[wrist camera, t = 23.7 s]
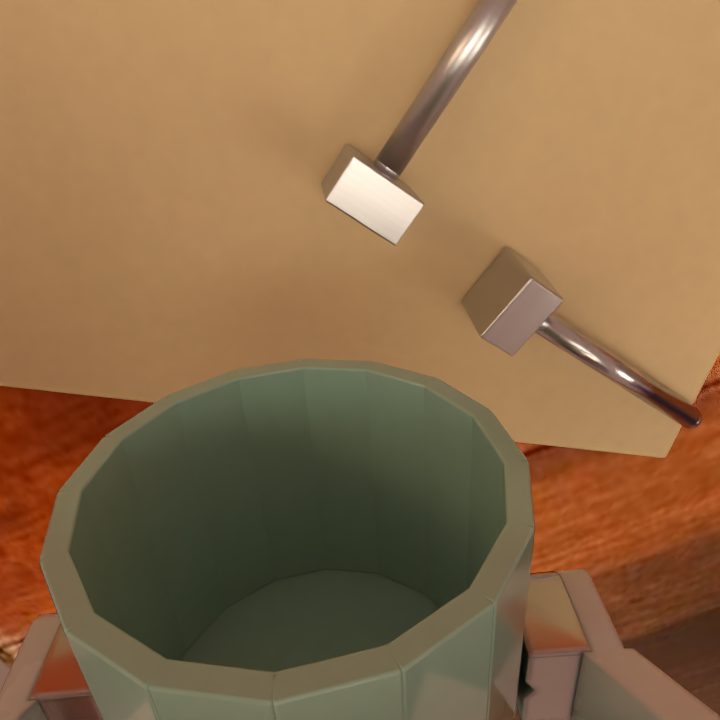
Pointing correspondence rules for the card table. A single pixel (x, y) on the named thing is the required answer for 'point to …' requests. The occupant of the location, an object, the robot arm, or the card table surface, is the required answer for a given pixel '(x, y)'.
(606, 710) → the robot arm
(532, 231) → the mat
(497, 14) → the square head hammer
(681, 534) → the card table surface
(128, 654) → the tumbler
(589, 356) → the metal mallet
